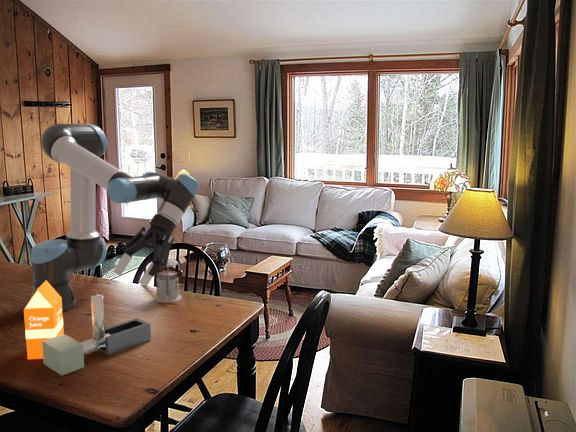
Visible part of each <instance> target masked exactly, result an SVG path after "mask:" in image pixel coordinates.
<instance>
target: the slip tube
mask: <svg viewBox="0 0 576 432" xmlns="http://www.w3.org/2000/svg"><path fill="white" fill-rule="evenodd" d="M90 306H91V307H90V308H91V325H92V338H89V339H86V340H83V341H81V342H80V341H79V342H80V343H82V344H83V353H84V356H85V355H88V354H91V353H93V352H96V351H99V350H100V349H102V348H105V337H106V336H109V335H110V334H108V333H107V334H105V328H106V327H105V325H106V324H105V311H104V310H105V309H104V308H105V307H104V294H102V293H95V294H91V295H90Z"/></svg>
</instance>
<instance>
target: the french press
mask: <svg viewBox="0 0 576 432" xmlns="http://www.w3.org/2000/svg"><path fill="white" fill-rule="evenodd" d="M163 261H164V260H163ZM178 264H179V262H178V261H177V260H175V259H173V258H168V262H167V266H166V267H165V268H166V270H165V269H164V270H163V271H159V272H158V273H157V277H156V283H157V284H156V286H157V287H156V288H157V290H156V291H157V296H156V297H155V298H154V300H155V301H156V302H157V303H164V304H165V303H167V304H168V303H175V302H178V301H180V300H182V296H181V295H180V293H179V292H180V291H179V289H180V288H179V276H178V272H177V271H172V270H169V268H171V267H175V266H178ZM161 268H164V267H163V266H162V267H161Z"/></svg>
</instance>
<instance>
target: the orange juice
mask: <svg viewBox="0 0 576 432" xmlns="http://www.w3.org/2000/svg"><path fill="white" fill-rule="evenodd" d="M61 299H62V298H61V297H60V296H59V294H58V293H57V292H56V291H55V290H54V289H53V287H52V286H51V285H50V284H49V283H48V282H47V280H46V281H45V282H44V283H43V284H42V285H41V286H40V287H39V288H38V289H37V291H36V293H35V294H34V296H33V297H32V298H31V297H30V300H29V302H27V305H26V306H25V307H24V309H23V316H24V317H23V319H24V329H25V331H24V332H25V334H24V335H25V342H26V352H27V353H26V355H27V356H26V357H27V360H40V359H42V360H43V349H42V341H44V340H47V339H50V338H54V337H57V336H60V335H63V334H65V332H64V330H65V329H64V317H63V316H64V315H63V311H62V300H61Z"/></svg>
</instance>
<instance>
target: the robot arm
mask: <svg viewBox="0 0 576 432" xmlns="http://www.w3.org/2000/svg"><path fill="white" fill-rule="evenodd" d="M40 146H41V149H42V150H43V152H44V154H45V155H46V156H47V157H49V158H50V160H52V161H54V162H56V163H58V164H65V165H66V166H67V167H69V177H70V178H69V179H70V180H69V185H70V187H69V188H70V195H69V196H70V201H69V202H70V231H68V232H67V233H66V235H65V238H66V239H61V238H59V239H58V238H57V239H51V240H49V239H48V240H44V241H41V242H39V243H37V244H35V245H34V246H33V247H32V248H31V254H30V255H31V256H30V261H31V268H32V269H31V270H32V281H33V288H32V293H31V296H30V299H31V298H32V297H33V296H34V294H35V293H36V291H37V289H38V288H39V287H40V286H41V285H42V284H43V283H44V282H45V281H46V280H47V282H48V283H49V284H50V285H51V286H52V287H53V289H54V290H55V291H56V292H57V293H58V294H59V296H60V297H61V298H62V299H61V300H62V312H65V311H68V310H70V309H71V310H72V309H73V308H75V307H76V305H77V298H76V297H77V296H76V295H75V293H74V291H73V288H72V286H71V281H70V275H71V274H74V273H77V272H81V271H85V270H91V269H94V268H95V267H97V266H100V265H101V264H102V263H103V262H104V261H105V259H106V256H107V249H108V248H107V244H106V243H105V240H104V239H103V238H102V237H101V233H100V232H98V231H97V229H96V222H97V220H96V218H97V217H96V215H97V213H96V206H97V205H96V202H97V201H96V199H97V198H96V191H97V190H96V188H97V187H96V184H97V186H98V185H99V186H100V187H101V188H102V189H105V190H106V191H107V196H108V197H109V198H110V200H111V201H112V202H113V203H116V204H129V203H133V202H139V201H146V200H151V199H160V200H163V201H162V203H160V206H159V207H158V209H157V210H156V214H154V216H153V217H152V218H151V220H150V221H149V225H150V227H149V228H148V229H147V228H146V227H145V226H142V227H141V229H140V230H139V231H138V232H137V233H136V234H135V235H134V236H133V237H132V238H130V240H128V242H126V243H125V244H124V245H122V247H121V250H122V251H123V254H122V256H121V257H120V258H119V260H118V262H117V265H116V266H115V268H114V269H113V271H112V272H113V273H115V274H116V275H118V276H122V274H123V272H125V270H126V268H127V266H128V265H129V263H130V262H131V260H132V258H133V255H134V254H136V253H137V252H139V251H140V250H142V249H144V248H145V247H149V246H151V247H153V257H152V259H153V260H152V261H151V263H150V264H149V265H148V267H147V269H146V270H145V271H144V273H143V275H142V277H141V278H140V280H139V281H138V283H139V284H140V285H143V286H144V287H146V288H147V287H148V286H149V284H150V282H151V281H152V278H153V277H154V276H156V273H157V272H158V271H159V269H160V268H167V267H166V266H167V262H168V259H169V256H170V252H171V247H172V244H173V242H174V239H175V238H174V237H173V236H172V234H173V233H174V231H175V229H176V227H177V226H176V225H178V224H179V223H180V221H181V220H182V218H183V216H184V214H185V213H186V211H187V209H188V207H189V206H190V205H191V203H192V202H193V201H194V199H195V197H196V195H197V193H198V192H199V189H200V183H199V182H198V180H196V179H195V178H194V177H192V176H191V175H189V174H186V173H181V174H179V175H178V177H177V178H176V179H175V178H172V177H170V176H166V175H163V174H161V173H159V172H153V171H147V172H145V173H143V174H142V175H140V176H139V175H138V176H131V175H130V174H128V173H126V172H124V171H122V170H121V169H119V168H118V167H116V166H115V165H113V164H111V163H109V162H108V161H106V160H104V159H102V158H101V157H102V156H103V155H105V153H106V152H107V149H108V140H107V137H106V134H105V132H104V131H103V130H102V128H100V126H98V125H96V124H90V123H55V124H52V125H50V126H48V127H47V128H46V129H44V131H43V133H42V134H41V137H40ZM163 260H164V261H163ZM162 266H163V267H162Z"/></svg>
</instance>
